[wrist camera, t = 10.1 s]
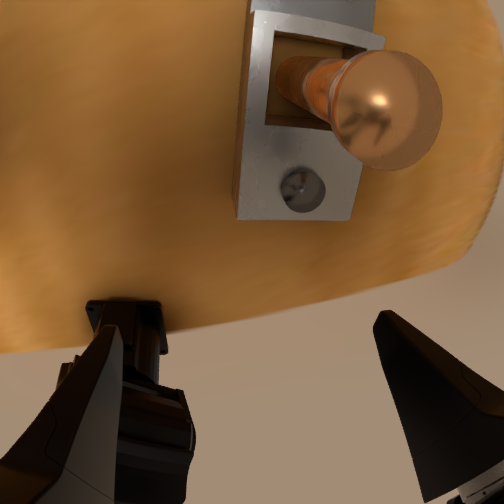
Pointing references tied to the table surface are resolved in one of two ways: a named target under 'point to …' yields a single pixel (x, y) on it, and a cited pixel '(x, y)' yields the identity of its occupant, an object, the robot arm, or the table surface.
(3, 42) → the table surface
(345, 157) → the slotted metal plate
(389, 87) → the pin
